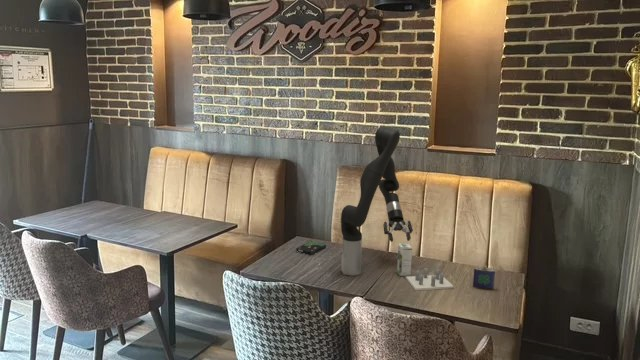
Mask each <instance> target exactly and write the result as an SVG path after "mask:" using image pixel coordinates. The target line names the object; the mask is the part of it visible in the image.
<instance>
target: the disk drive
mask: <svg viewBox="0 0 640 360" xmlns="http://www.w3.org/2000/svg"><path fill="white" fill-rule="evenodd" d="M325 249H327V245H326V243H321V242H316V241H308V242H307V243H304V244H302V245H300V246H299V247H297V248H296V249H295V250H296V251H298V252H301V253H300V254H303V253H305V254H304V255H307V254H308V256H311V255H312V256H314V255H316V254H317V253H319V252H321V251H323V250H325ZM296 251H295V252H296ZM298 252H297V253H298ZM315 253H316V254H315Z"/></svg>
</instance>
